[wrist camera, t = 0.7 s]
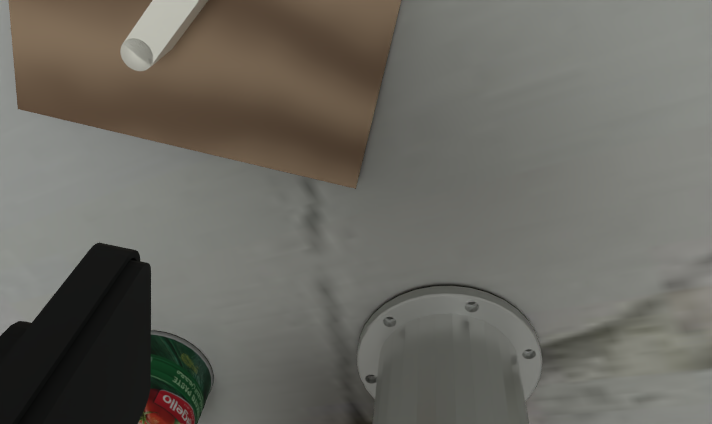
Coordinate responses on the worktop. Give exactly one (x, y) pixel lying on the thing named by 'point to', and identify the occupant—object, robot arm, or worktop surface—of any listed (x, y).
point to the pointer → (158, 31)
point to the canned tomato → (176, 381)
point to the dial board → (217, 77)
